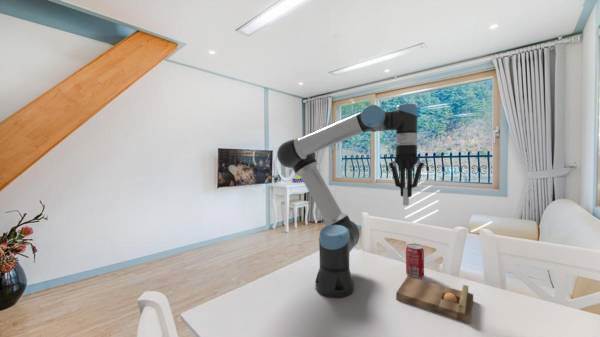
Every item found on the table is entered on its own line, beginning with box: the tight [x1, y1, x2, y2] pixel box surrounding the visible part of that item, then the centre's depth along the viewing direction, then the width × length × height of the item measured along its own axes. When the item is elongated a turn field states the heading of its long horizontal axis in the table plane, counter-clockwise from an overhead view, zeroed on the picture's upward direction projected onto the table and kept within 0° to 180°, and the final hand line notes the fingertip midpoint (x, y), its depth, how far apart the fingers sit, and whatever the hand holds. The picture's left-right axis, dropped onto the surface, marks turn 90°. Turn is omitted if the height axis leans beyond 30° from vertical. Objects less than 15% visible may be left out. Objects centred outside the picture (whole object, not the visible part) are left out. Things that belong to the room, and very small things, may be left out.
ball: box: [443, 293, 457, 304], centre depth 85 cm, size 4×4×4 cm
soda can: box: [405, 243, 425, 280], centre depth 106 cm, size 7×7×13 cm
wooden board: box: [395, 275, 474, 324], centre depth 88 cm, size 22×15×5 cm
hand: (406, 204), depth 97 cm, fingers closed
